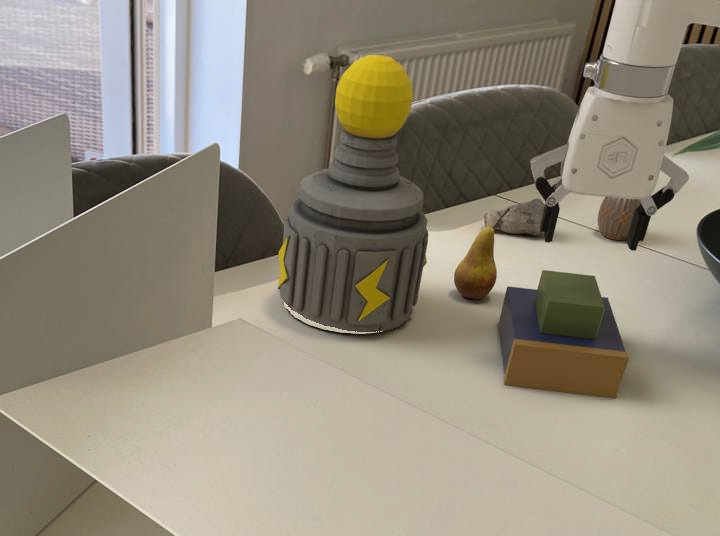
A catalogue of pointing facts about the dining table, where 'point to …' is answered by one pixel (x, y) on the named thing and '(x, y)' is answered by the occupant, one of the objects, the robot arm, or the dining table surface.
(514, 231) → the stone
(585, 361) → the blue and tan box
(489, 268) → the fruit
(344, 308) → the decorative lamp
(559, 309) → the green rectangular block
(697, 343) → the dining table surface
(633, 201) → the vase
